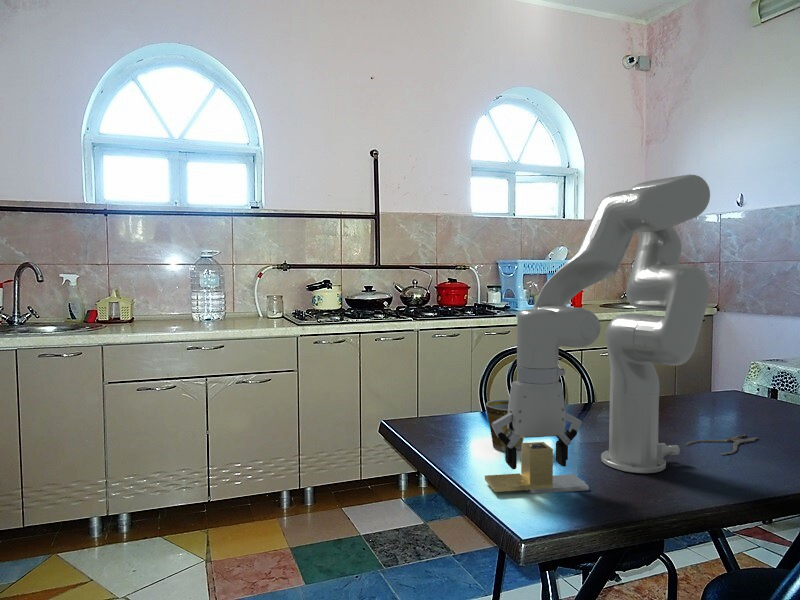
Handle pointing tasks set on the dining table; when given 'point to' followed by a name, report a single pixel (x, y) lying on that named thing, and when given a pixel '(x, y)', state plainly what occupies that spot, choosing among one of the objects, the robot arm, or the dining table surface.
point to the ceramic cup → (495, 412)
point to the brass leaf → (527, 470)
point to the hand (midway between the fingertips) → (536, 465)
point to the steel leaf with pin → (560, 482)
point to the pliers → (734, 439)
